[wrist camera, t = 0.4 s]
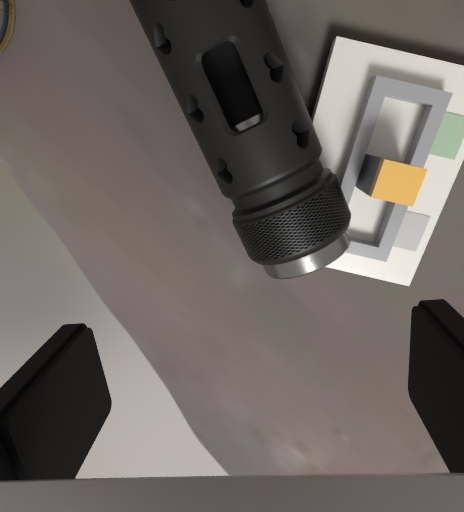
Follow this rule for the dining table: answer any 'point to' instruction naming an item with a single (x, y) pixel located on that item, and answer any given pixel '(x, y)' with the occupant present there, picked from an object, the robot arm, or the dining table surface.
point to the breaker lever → (390, 180)
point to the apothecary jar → (6, 22)
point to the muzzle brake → (251, 129)
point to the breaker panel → (389, 147)
